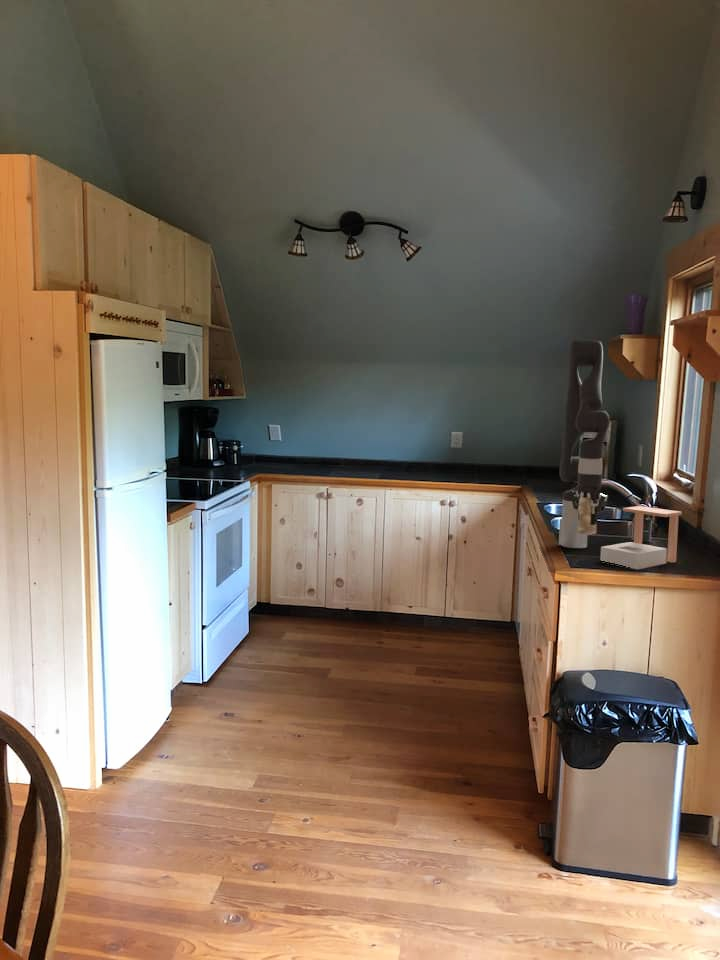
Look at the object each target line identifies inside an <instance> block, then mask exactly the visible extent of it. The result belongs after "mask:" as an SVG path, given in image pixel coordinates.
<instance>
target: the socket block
mask: <svg viewBox="0 0 720 960" xmlns="http://www.w3.org/2000/svg"><path fill="white" fill-rule="evenodd" d="M667 555H668V548H666V547H660V546H654V545H648V544H645V543H642V544H639V543H634V541H629V542H622V543H616V544H611V545H604V546H600V560H601V561H605V562H610V563H615V564H619V565H623V566H626V567H625V568H628V567H630V568H629V569H632V570H633V569H634V570H642V569H646V568H651V567H655V566H656V567H657V566H661V565H664V564H667ZM600 560H599V561H600ZM605 562H604V563H605ZM619 565H618V566H619ZM623 566H622V567H623Z"/></svg>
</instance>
